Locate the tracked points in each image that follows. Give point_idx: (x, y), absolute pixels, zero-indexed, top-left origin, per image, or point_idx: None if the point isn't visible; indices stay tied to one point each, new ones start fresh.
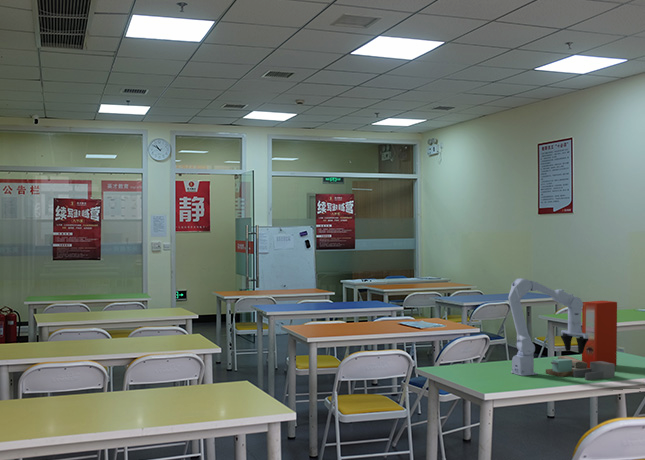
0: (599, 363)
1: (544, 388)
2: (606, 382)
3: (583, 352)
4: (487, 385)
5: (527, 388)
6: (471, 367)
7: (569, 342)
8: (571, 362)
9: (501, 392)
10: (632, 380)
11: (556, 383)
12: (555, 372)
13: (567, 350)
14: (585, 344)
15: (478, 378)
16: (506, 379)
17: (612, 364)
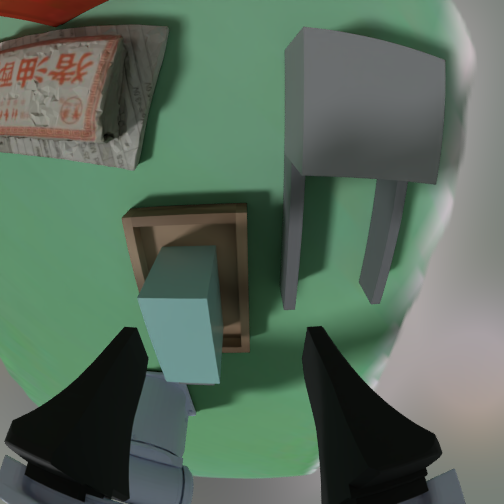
0: (387, 153)
1: None
2: (441, 231)
3: (4, 6)
4: (262, 467)
5: None
6: None
7: (107, 404)
8: (209, 290)
9: (319, 465)
10: (472, 72)
11: None
12: (224, 350)
13: (145, 356)
14: (379, 399)
15: (196, 459)
16: (223, 442)
17: (443, 83)
